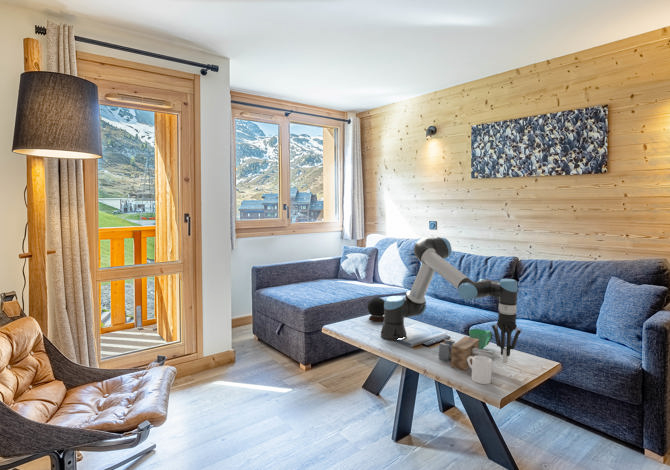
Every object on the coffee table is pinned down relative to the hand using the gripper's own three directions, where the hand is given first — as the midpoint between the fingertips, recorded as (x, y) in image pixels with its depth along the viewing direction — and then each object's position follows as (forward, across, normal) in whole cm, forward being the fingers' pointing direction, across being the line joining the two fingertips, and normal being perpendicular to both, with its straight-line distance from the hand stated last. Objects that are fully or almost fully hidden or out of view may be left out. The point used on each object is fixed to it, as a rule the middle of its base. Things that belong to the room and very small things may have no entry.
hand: (505, 362), depth 183 cm
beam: (+5, -19, 0) cm, 19 cm away
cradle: (+5, -28, 0) cm, 29 cm away
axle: (0, -15, 0) cm, 15 cm away
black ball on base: (+6, -92, +34) cm, 98 cm away
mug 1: (+6, -19, +24) cm, 31 cm away
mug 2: (+6, -8, -14) cm, 17 cm away
